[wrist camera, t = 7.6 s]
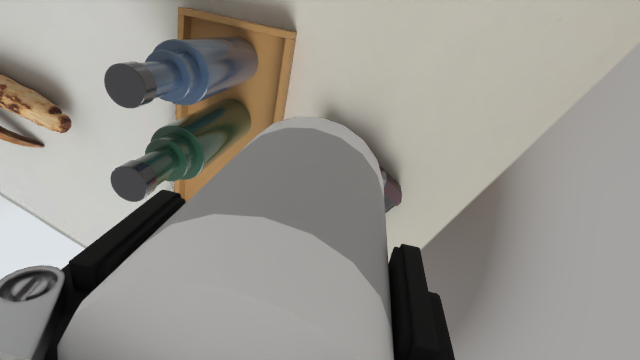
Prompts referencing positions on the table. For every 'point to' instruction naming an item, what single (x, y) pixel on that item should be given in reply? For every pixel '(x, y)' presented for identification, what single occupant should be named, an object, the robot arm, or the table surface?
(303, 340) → the spray bottle
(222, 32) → the tray
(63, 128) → the lashed bone hook
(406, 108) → the table surface
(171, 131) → the green bottle
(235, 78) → the slate bottle
